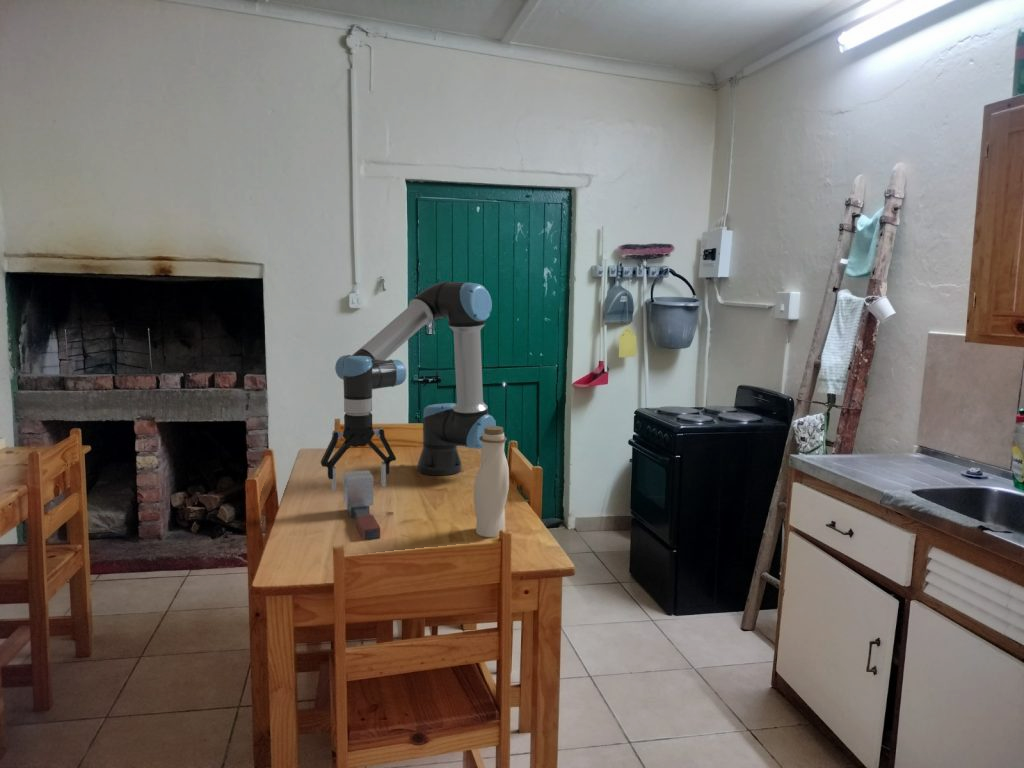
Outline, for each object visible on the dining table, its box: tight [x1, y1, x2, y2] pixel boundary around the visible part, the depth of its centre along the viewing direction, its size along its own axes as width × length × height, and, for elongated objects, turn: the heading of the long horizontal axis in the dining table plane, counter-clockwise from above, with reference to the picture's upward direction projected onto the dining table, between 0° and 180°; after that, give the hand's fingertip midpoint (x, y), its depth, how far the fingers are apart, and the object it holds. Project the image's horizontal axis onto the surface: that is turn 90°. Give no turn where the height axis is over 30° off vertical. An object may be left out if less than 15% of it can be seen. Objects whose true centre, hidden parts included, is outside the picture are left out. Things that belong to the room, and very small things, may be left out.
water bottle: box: [473, 425, 510, 538], centre depth 177 cm, size 10×9×28 cm
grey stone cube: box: [343, 469, 374, 509], centre depth 188 cm, size 7×7×8 cm
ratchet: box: [346, 506, 381, 541], centre depth 181 cm, size 5×24×7 cm, turn 22°
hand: (359, 487), depth 189 cm, fingers open, 13 cm apart
